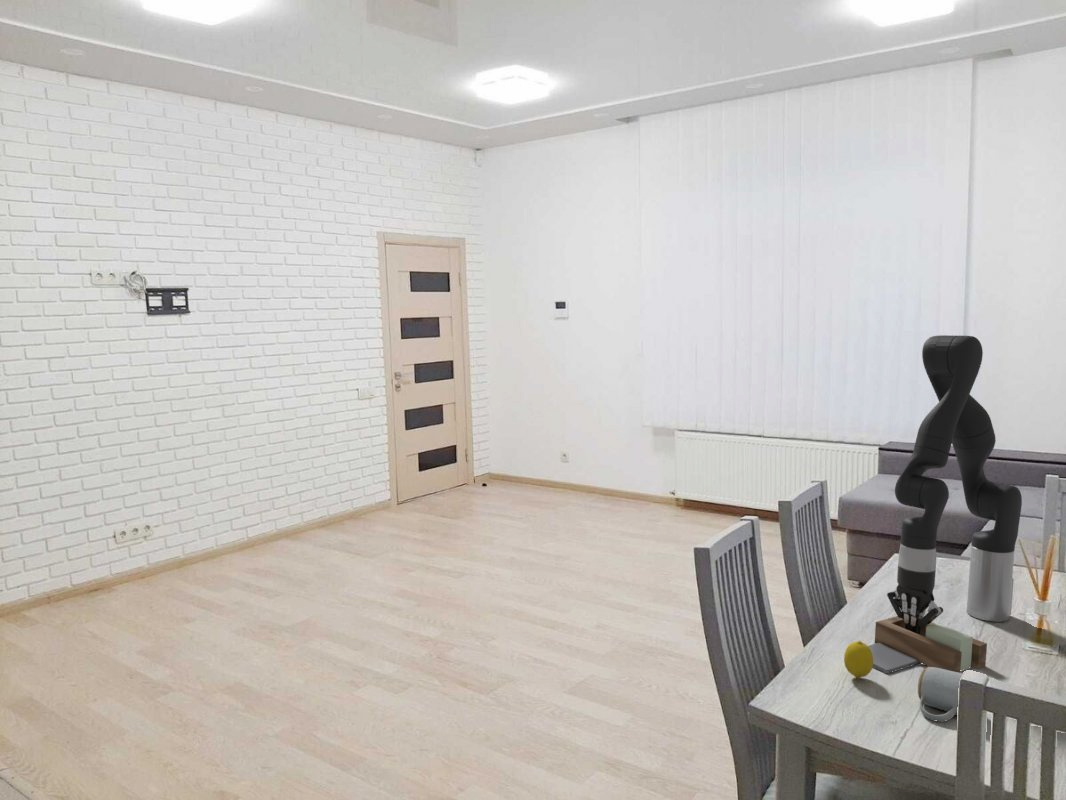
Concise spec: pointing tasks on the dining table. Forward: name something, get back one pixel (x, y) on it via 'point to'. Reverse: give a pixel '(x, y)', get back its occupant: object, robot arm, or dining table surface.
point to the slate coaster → (889, 658)
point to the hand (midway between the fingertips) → (911, 640)
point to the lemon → (858, 659)
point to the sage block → (952, 641)
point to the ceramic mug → (939, 691)
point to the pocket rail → (925, 646)
